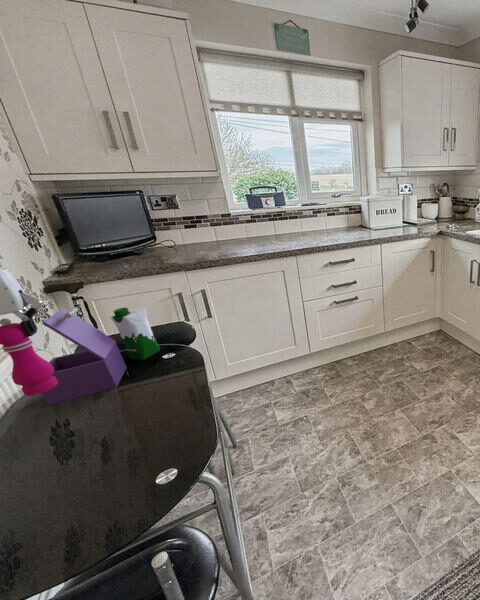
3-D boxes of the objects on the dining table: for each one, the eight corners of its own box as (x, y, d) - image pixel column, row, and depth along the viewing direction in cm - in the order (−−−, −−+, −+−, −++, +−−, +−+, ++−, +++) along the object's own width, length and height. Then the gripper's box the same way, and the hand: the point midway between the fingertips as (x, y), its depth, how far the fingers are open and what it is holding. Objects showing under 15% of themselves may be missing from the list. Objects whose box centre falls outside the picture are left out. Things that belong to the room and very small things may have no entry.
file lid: (41, 323, 94) (55, 312, 95) (61, 308, 106) (73, 299, 107) (102, 360, 103) (115, 350, 104) (114, 343, 115) (125, 334, 116)
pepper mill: (21, 400, 80) (-22, 328, 73) (22, 389, 85) (-18, 320, 78) (61, 386, 85) (24, 317, 78) (60, 377, 90) (25, 310, 83)
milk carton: (125, 360, 124) (104, 312, 117) (147, 348, 133) (129, 302, 125) (143, 361, 122) (123, 312, 115) (165, 349, 130) (146, 302, 123)
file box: (48, 405, 100) (32, 378, 97) (66, 383, 112) (52, 358, 108) (116, 386, 107) (104, 360, 104) (126, 367, 119) (116, 343, 115)
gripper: (-97, 278, 67) (-48, 354, 73) (18, 263, 74) (53, 334, 80) (-69, 270, 73) (-26, 341, 80) (34, 257, 80) (66, 323, 87)
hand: (13, 337), depth 80 cm, fingers closed on pepper mill, 6 cm apart
